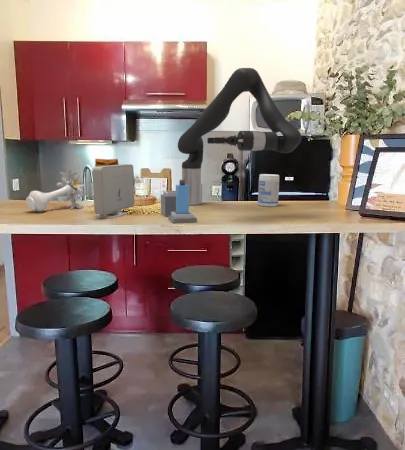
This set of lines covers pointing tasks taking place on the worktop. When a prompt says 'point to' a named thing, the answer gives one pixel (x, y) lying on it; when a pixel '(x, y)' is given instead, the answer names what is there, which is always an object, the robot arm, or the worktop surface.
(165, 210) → the grey block
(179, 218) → the plate
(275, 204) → the supplement tub
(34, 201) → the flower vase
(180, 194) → the blue plug
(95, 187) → the network device
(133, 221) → the worktop surface
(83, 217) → the worktop surface
